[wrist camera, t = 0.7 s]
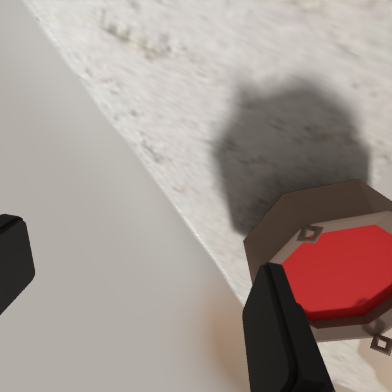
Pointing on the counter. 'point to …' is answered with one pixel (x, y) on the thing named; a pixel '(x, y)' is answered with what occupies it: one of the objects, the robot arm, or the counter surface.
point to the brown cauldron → (332, 258)
